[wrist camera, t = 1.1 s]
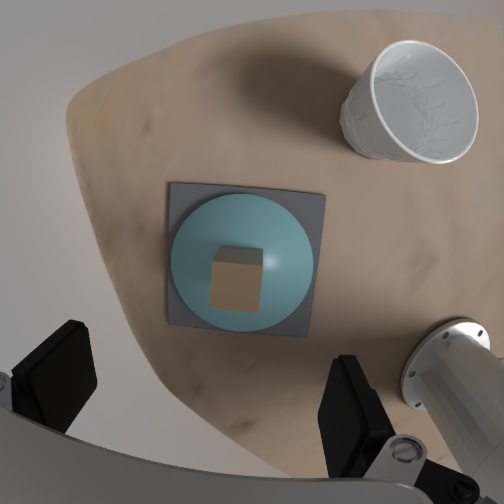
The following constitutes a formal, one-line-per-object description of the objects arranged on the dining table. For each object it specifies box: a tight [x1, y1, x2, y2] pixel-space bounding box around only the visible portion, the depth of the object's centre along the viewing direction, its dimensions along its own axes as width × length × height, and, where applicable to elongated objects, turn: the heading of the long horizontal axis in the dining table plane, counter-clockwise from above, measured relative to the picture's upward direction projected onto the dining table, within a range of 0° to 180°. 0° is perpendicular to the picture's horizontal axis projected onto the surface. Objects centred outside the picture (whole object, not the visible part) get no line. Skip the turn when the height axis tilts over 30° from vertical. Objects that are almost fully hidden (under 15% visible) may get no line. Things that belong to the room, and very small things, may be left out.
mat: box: [168, 183, 326, 337], centre depth 27 cm, size 13×13×1 cm
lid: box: [171, 194, 313, 332], centre depth 24 cm, size 12×12×6 cm
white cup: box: [339, 40, 478, 164], centre depth 19 cm, size 8×8×10 cm
